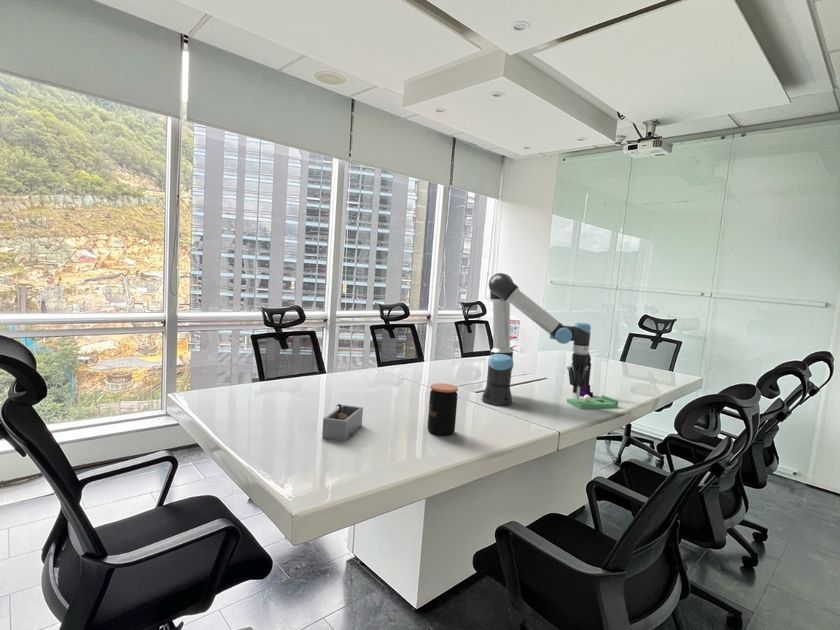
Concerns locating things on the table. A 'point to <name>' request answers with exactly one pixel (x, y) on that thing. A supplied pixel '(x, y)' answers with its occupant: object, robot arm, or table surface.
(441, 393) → the coffee jar
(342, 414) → the figurine
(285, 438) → the table surface
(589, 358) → the building model
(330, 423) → the open storage box
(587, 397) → the ball
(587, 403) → the green
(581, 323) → the robot arm
